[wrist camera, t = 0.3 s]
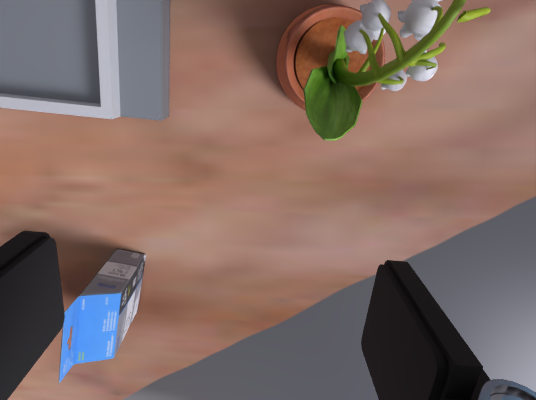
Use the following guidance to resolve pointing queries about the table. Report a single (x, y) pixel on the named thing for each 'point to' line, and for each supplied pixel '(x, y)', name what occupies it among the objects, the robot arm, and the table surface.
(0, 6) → the dock
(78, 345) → the label tape cartridge
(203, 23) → the table surface
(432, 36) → the potted flower
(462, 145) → the table surface
